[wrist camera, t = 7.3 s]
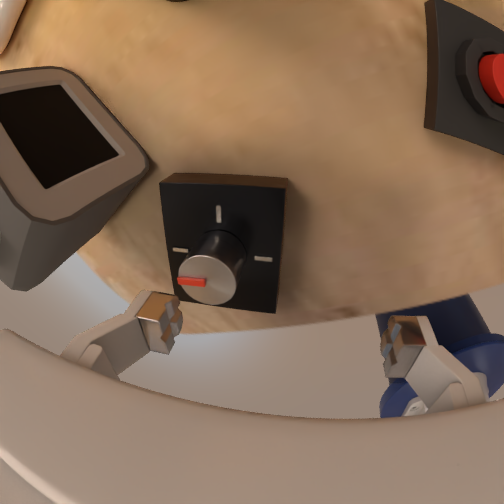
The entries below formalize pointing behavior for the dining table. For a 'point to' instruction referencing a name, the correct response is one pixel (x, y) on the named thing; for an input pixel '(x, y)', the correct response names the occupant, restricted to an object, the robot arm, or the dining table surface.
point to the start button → (493, 76)
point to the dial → (213, 268)
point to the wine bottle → (176, 0)
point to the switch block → (461, 76)
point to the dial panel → (229, 228)
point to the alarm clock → (57, 170)
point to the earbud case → (9, 19)
